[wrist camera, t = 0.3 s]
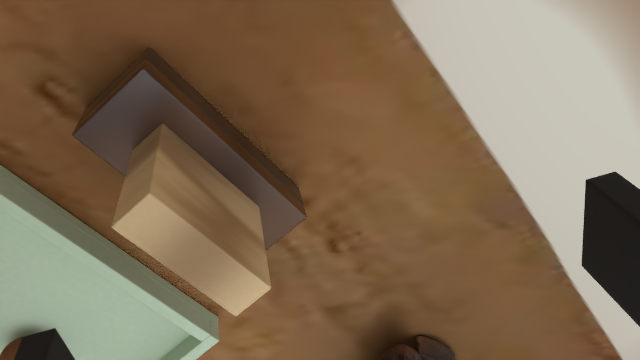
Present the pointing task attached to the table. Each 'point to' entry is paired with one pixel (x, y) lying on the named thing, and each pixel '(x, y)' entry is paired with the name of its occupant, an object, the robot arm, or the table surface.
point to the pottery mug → (419, 351)
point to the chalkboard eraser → (190, 183)
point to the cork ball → (10, 350)
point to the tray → (88, 288)
